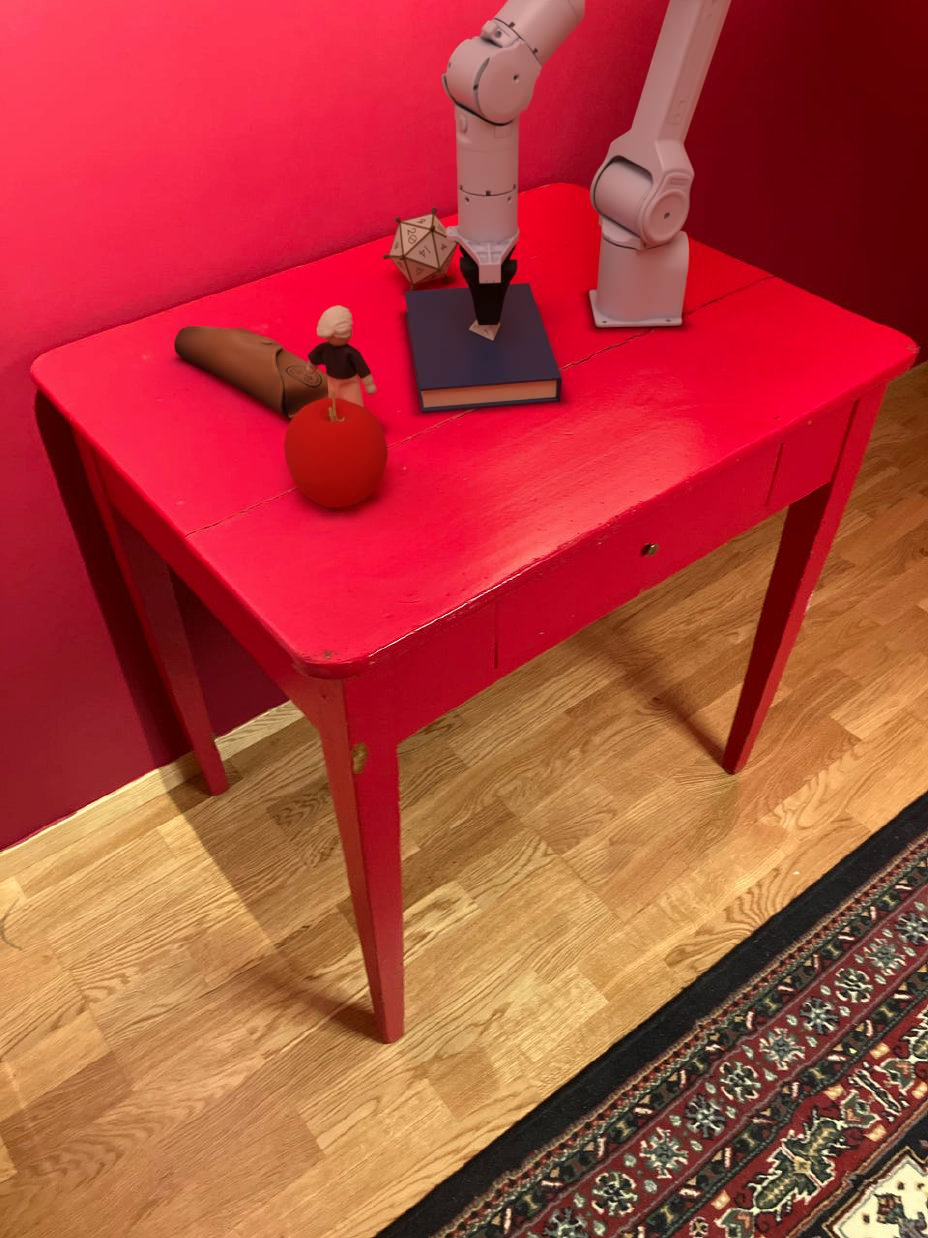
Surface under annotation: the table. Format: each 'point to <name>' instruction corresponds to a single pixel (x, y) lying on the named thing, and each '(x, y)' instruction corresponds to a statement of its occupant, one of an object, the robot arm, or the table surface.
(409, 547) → the table surface
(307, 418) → the fruit
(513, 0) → the robot arm
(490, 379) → the book
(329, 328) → the grandmother figurine
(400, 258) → the game die
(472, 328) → the tetrahedral die
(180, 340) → the sunglasses case
